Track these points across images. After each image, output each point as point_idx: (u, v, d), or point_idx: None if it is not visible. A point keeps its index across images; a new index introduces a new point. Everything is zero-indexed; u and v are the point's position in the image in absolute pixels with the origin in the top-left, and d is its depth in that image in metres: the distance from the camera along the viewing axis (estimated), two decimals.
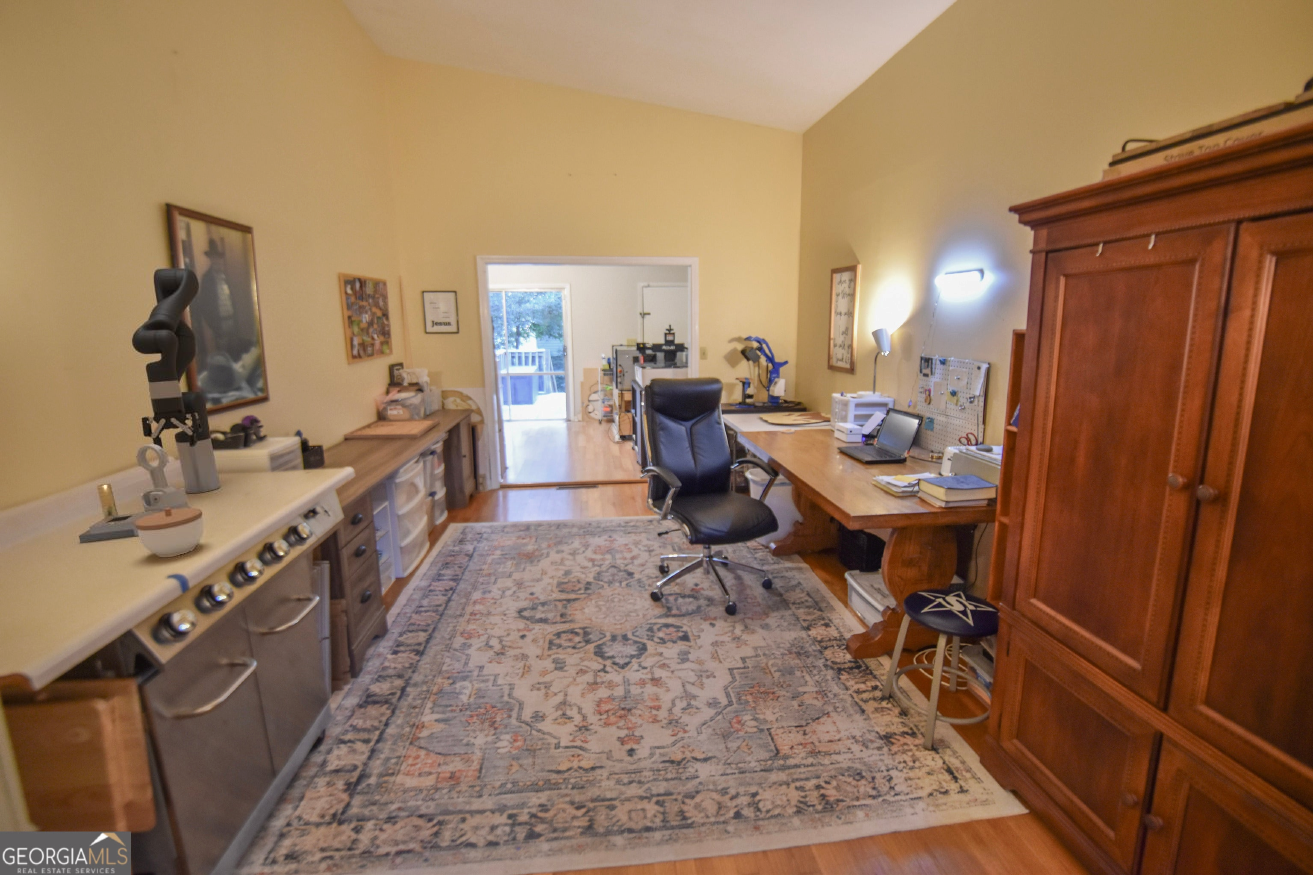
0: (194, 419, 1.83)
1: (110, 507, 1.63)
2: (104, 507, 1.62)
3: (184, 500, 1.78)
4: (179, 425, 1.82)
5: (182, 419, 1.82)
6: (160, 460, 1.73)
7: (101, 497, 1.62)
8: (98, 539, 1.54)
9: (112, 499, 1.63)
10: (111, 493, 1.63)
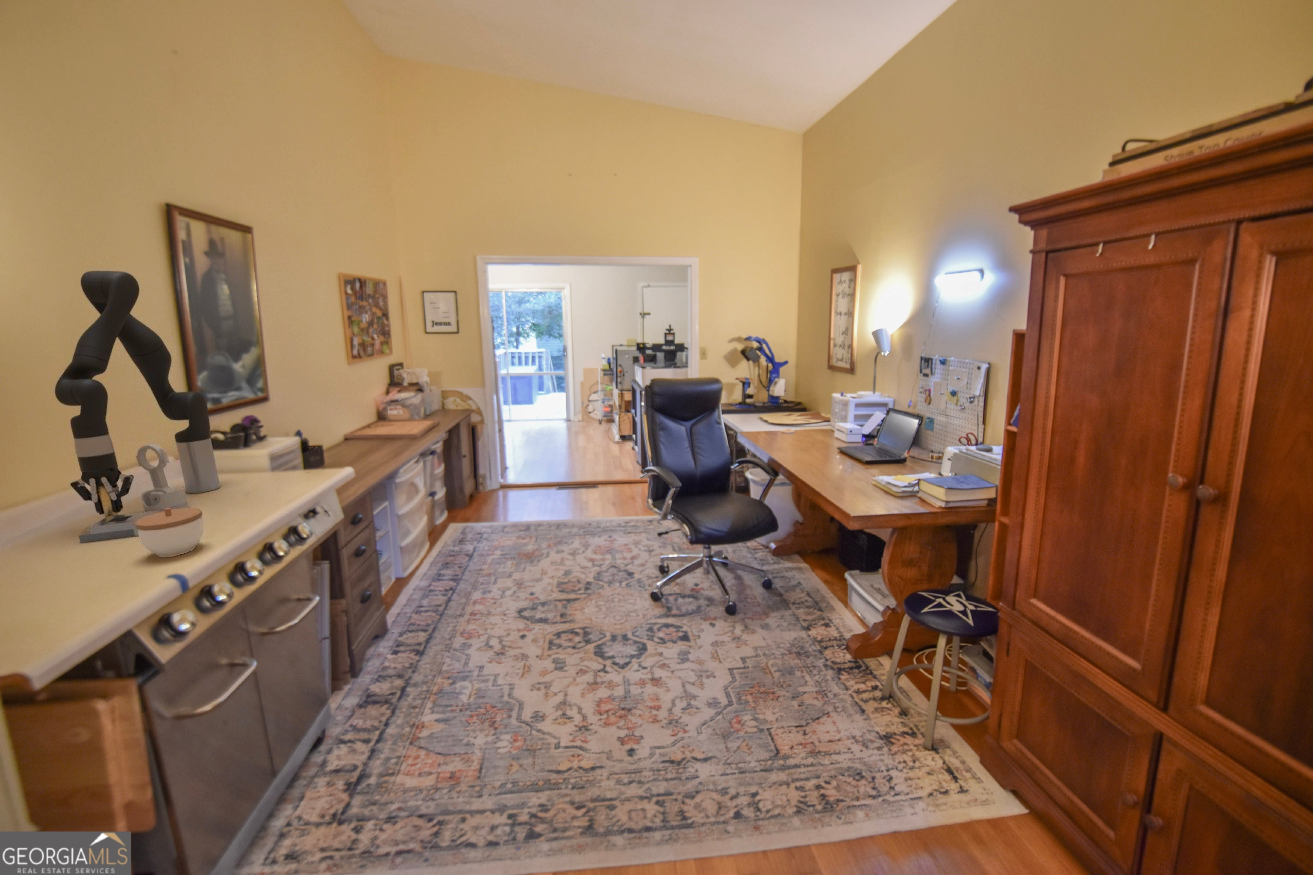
0: (126, 483, 1.63)
1: (110, 507, 1.63)
2: (104, 507, 1.62)
3: (184, 500, 1.78)
4: (107, 486, 1.61)
5: (114, 481, 1.62)
6: (160, 460, 1.73)
7: (101, 497, 1.62)
8: (98, 539, 1.54)
9: None
10: None
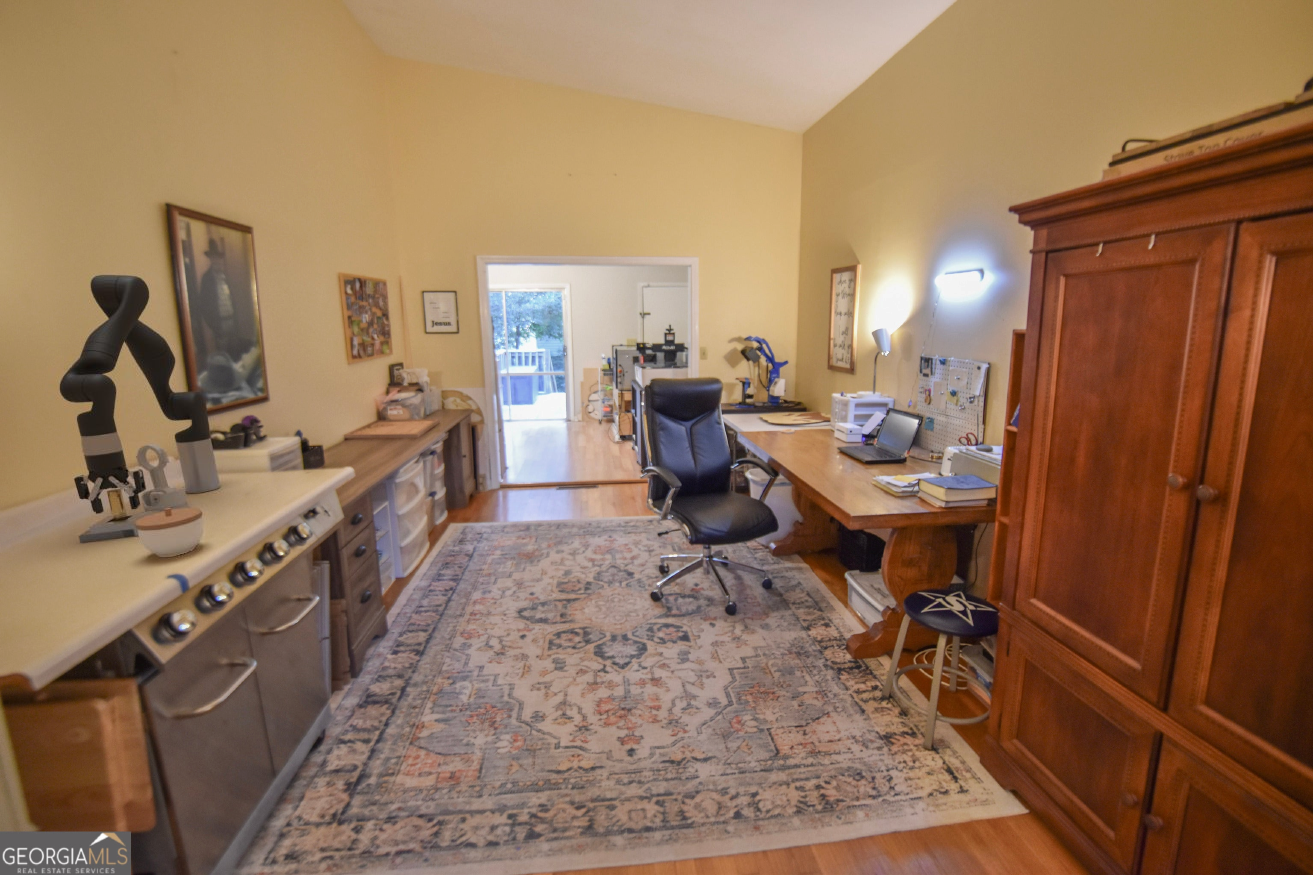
0: (137, 478, 1.57)
1: (120, 513, 1.57)
2: (114, 513, 1.57)
3: (184, 500, 1.78)
4: (118, 485, 1.56)
5: (123, 478, 1.56)
6: (160, 460, 1.73)
7: (111, 502, 1.56)
8: (98, 539, 1.54)
9: (122, 504, 1.58)
10: (121, 498, 1.57)
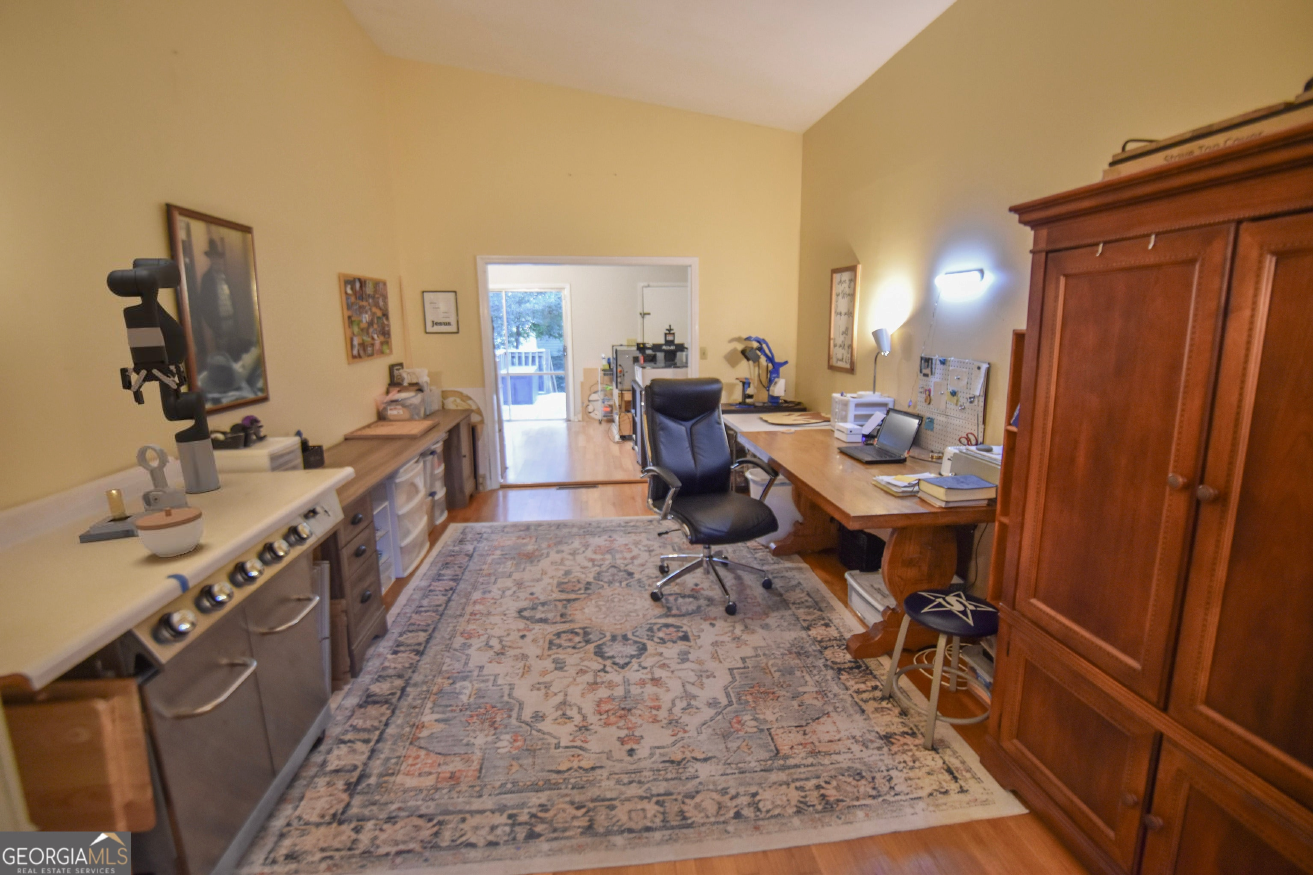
0: (179, 371, 1.66)
1: (120, 513, 1.57)
2: (113, 513, 1.57)
3: (184, 500, 1.78)
4: (162, 377, 1.64)
5: (165, 371, 1.65)
6: (160, 460, 1.73)
7: (110, 503, 1.56)
8: (98, 539, 1.54)
9: (121, 505, 1.58)
10: (120, 498, 1.57)
